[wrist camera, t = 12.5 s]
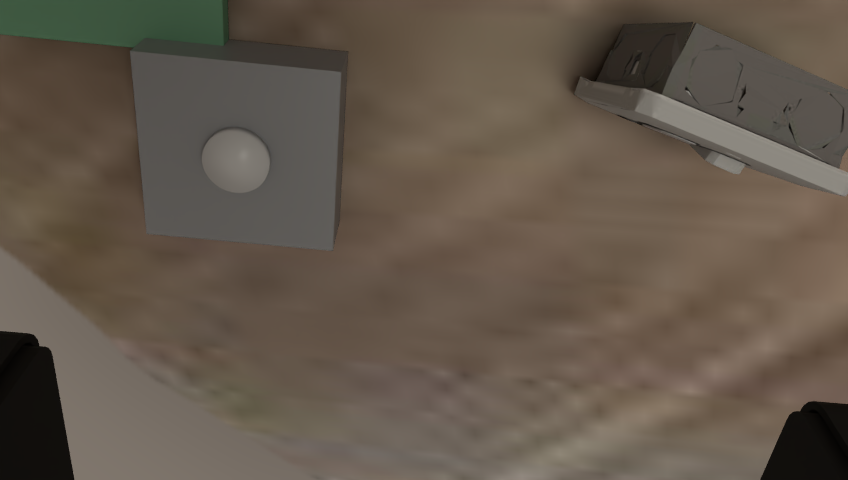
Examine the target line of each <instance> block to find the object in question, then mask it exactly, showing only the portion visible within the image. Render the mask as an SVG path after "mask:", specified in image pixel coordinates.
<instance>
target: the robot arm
mask: <svg viewBox="0 0 848 480" xmlns="http://www.w3.org/2000/svg"><path fill="white" fill-rule="evenodd" d="M0 480H74V475H73V469H72V464H71V459H70V452H69V447H68V441H67V435H66V430H65V424H64V419H63V413H62V407H61V401H60V397H59V390H58V385H57V379H56V373H55V368H54V363H53V356H52V353H51V351H50V349H49V348H47V347H41V346H39V343H38V340H37V338H36V337H35V336H34V335H32V334H28V333H17V332H4V331H0ZM760 480H848V404H839V403H828V402H816V401H813V402H808V403H806V404H805V405H804V406H803V407H802V409H801V411H800V412H799V411H796V412H793V413H791V414H790V415H789V417H788V419H787V420H786V423H785V425H784V427H783V430H782V432H781V434H780V436H779V439H778V441H777V443H776V445H775V448H774V450H773V452H772V454H771V457H770V459H769V461H768V464H767V466H766V468H765V470H764V473H763V475H762V477H761V479H760Z"/></svg>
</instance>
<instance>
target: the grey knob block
mask: <svg viewBox="0 0 848 480" xmlns="http://www.w3.org/2000/svg"><path fill="white" fill-rule="evenodd" d="M130 57H131V68H132V79H133V90H134V101H135V112H136V123H137V134H138V145H139V156H140V167H141V178H142V189H143V200H144V210H145V221H146V232H147V234H154V235H165V236H176V237H187V238H198V239H209V240H220V241H230V242H241V243H252V244H263V245H274V246H285V247H296V248H307V249H318V250H329V251H333V248H334V244H335V239H336V235H337V230H338V226H339V221H340V201H341V182H342V162H343V142H344V122H345V103H346V83H347V63H348V52H347V51H337V50H327V49H317V48H307V47H297V46H287V45H277V44H267V43H257V42H247V41H238V40H228V41H227V42H226V44H225V45H224V46H221V45H211V44H201V43H191V42H181V41H171V40H161V39H151V38H144V39H143V40H142V41H141V42H140V43H139V44H137V45H136V46H135V47H134V48H133V49H132V50H130Z"/></svg>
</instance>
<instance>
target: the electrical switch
mask: <svg viewBox="0 0 848 480" xmlns="http://www.w3.org/2000/svg"><path fill="white" fill-rule="evenodd" d="M692 24H693V22H689V23H655V24H624V25H623V27H622V30H621V32H620V34H619V37H618V39H617V41H616V44H615V46H614V48H613V50H611V51H610V53H609V55H608V57H607V59H606V61H605V63H604V66H603V68H602V70H601V73H600V74H599V76H598V78H597V80H596V82H594V81H590V80H588V79H586V78H583V77H581V76H580V79H579V82H578V84H577V87H576V90H575V93H574V95H576V96H578V97H579V98H581V99H582V100H584V101H586V102H587V103H589V104H592V105H594V106H597V107H599V108H601V109H604V110H606V111H609V112H611V113H614V114H616V115H618V116H620V117H622V118H625V119H627V120H630V121H632V122H635V123H637V124H640V125H643V126H644V127H647V128H649V129H652V130H655V131H657V132H660V133H662V134H665V135H667V136H670V137H672V138H675V139H677V140H680V141H682V142H685V143H687V144H690V146H691V147H692V148H693V149H694V150H695V151H696V152H697V153H698V154H700V155H701V156H702V157H703V158H704V159H705V160H706V161H708V162H709V163H711V164H713V165H715V166H717V167H719V168H722V169H724V170H726V171H729V172H731V173H734V174H740V172H741V171H742V169H743V168H744V166H745V167H748V168H751V169H754V170H756V171H759V172H762V173H765V174H768V175H771V176H774V177H777V178H780V179H783V180H786V181H788V182H791V183H794V184H797V185H800V186H804V187H808V188H811V189H815V190H820V191H824V192H828V193H832V194H836V195H840V196H846V195H847V194H848V172H845V171H843V170H840V169H839V167H840V163H841V160H842V156H843V155H844V153H845V151H846V150H847V148H848V90H847V89H845V88H843V87H841V86H838V85H836V84H834V83H831V82H829V81H827V80H825V79H822V78H820V77H818V76H816V75H813V74H811V73H809V72H806V71H804V70H802V69H800V68H797V67H795V66H793V65H791V64H788V63H786V62H784V61H781V60H779V59H777V58H775V57H772V56H770V55H768V54H766V53H763V52H761V51H759V50H757V49H754V48H752V47H750V46H747V45H745V44H743V43H741V42H738V41H736V40H734V39H732V38H729V37H727V36H725V35H722V34H720V33H718V32H716V31H713V30H711V29H709V28H707V27H704V26H702V25H700V24H697V23H695V24H694V26H693V29H692V31H691V33H690V35H689V37H688V34H689V32H690V29H691V27H692ZM687 37H688V39H687ZM686 39H687V42H686ZM685 42H686V44H685ZM684 45H685V46H684ZM716 45H718V46H716ZM683 47H684V48H683ZM827 92H830V94H828V93H827ZM785 108H786V109H785Z"/></svg>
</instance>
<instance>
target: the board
mask: <svg viewBox="0 0 848 480" xmlns="http://www.w3.org/2000/svg"><path fill="white" fill-rule="evenodd" d="M0 34H2V35H12V36H22V37H32V38H42V39H52V40H62V41H72V42H82V43H92V44H102V45H112V46H122V47H132V48H134V47H135V46H136V45H137V44H139V43H140V42H141V41H142V40H143V39H144V38H151V39H161V40H171V41H181V42H191V43H201V44H211V45H221V46H224V45H225V44H226V42H227V41H228V40H229V29H228V0H0Z"/></svg>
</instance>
